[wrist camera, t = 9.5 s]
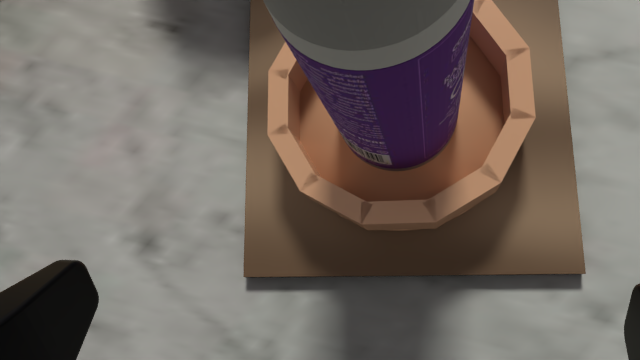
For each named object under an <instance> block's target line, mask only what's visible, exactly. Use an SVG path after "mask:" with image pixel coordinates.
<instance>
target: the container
mask: <svg viewBox="0 0 640 360" xmlns="http://www.w3.org/2000/svg"><path fill="white" fill-rule="evenodd" d="M263 1H264V3H265V5H266V7H267V9H268V11H269V13H270V14H271V16H272V19H273V21H274V23H275V25H276V27H277V28H278V30H279V32H280V33H281V35H282V37H283V38H284V40H285V42H286V43H287V45H288V47H289V48H290V50H291V52H292V53H293V55H294V57H295V58H296V60H297V62H298V63H299V65H300V67H301V68H302V70H303V72H304V73H305V75H306V77H307V78H308V80H309V82H310V83H311V85H312V87H313V88H314V90H315V92H316V93H317V95H318V97H319V98H320V100H321V102H322V104H323V105H324V107H325V109H326V110H327V112H328V114H329V115H330V117H331V119H332V120H333V122H334V124H335V125H336V127H337V129H338V130H339V132H340V134H341V135H342V137H343V139H344V140H345V142H346V143H347V145H348V146H349V148H350V149H351V150H352V151H353V153H354V154H355V155H356V156H357V157H359V158H360V159H361V160H362V161H364V162H365V163H367V164H369V165H371V166H373V167H376V168H379V169H382V170H388V171H406V170H411V169H415V168H418V167H420V166H423V165H425V164H427V163H428V162H430V161H431V160H433V159H434V158H435V157H437V156H438V155H439V154H440V153H441V152H442V151H443V150H444V149H445V147H446V146H447V145H448V143H449V142H450V140H451V138H452V136H453V133H454V131H455V127H456V123H457V119H458V112H459V105H460V98H461V91H462V84H463V77H464V70H465V63H466V56H467V48H468V41H469V34H470V27H471V20H472V13H473V6H474V0H263Z"/></svg>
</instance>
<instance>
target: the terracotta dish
mask: <svg viewBox="0 0 640 360" xmlns="http://www.w3.org/2000/svg"><path fill="white" fill-rule="evenodd" d="M535 118H536V115H535V104H534V92H533V81H532V70H531V58H530V47H529V46H528V45H527V44H526V43H525V41H524V40H523V39H522V38H521V36H520V35H519V34H518V33H517V31H516V30H515V29H514V27H513V26H512V25H511V24H510V22H509V21H508V20H507V19H506V17H505V16H504V15H503V14H502V12H501V11H500V10H499V9H498V7H497V6H496V5H495V3H494V2H493V1H492V0H474V6H473V13H472V20H471V27H470V34H469V41H468V48H467V56H466V63H465V70H464V77H463V84H462V91H461V98H460V105H459V112H458V119H457V123H456V127H455V131H454V133H453V136H452V138H451V140H450V142H449V143H448V145H447V146H446V147H445V149H444V150H443V151H442V152H441V153H440V154H439V155H438V156H437V157H435V158H434V159H433V160H431V161H430V162H428V163H427V164H425V165H423V166H420V167H418V168H415V169H411V170H406V171H388V170H382V169H379V168H376V167H373V166H371V165H369V164H367V163H365V162H364V161H362V160H361V159H360V158H359V157H357V156H356V155H355V154H354V153H353V151H352V150H351V149H350V148H349V146H348V145H347V143H346V142H345V140H344V139H343V137H342V135H341V134H340V132H339V130H338V129H337V127H336V125H335V124H334V122H333V120H332V119H331V117H330V115H329V114H328V112H327V110H326V109H325V107H324V105H323V104H322V102H321V100H320V98H319V97H318V95H317V93H316V92H315V90H314V88H313V87H312V85H311V83H310V82H309V80H308V78H307V77H306V75H305V73H304V72H303V70H302V68H301V67H300V65H299V63H298V62H297V60H296V58H295V57H294V55H293V53H292V52H291V50H290V48H289V47H288V45H287V43H286V42H285V43H284V45H283V47H282V48H281V50H280V52H279V54H278V55H277V57H276V59H275V61H274V62H273V64H272V66H271V67H270V69H269V71H268V128H267V135H268V137H269V138H270V140H271V142H272V144H273V145H274V147H275V149H276V150H277V152H278V154H279V156H280V157H281V159H282V161H283V162H284V164H285V166H286V168H287V169H288V171H289V173H290V175H291V176H292V178H293V180H294V181H295V183H296V185H297V187H298V188H299V190H300V192H302V193H303V194H304V195H306V196H307V197H308V198H310V199H311V200H313V201H315V202H317V203H318V204H320V205H322V206H324V207H326V208H328V209H329V210H331V211H333V212H335V213H336V214H338V215H340V216H341V217H343V218H345V219H347V220H350V221H351V222H353V223H355V224H357V225H359V226H361V227H362V228H364V229H366V230H386V231H411V230H420V229H436V228H438V227H440V226H441V225H443V224H444V223H446V222H448V221H450V220H452V219H454V218H456V217H458V216H460V215H462V214H464V213H465V212H467V211H468V210H470V209H471V208H473V207H474V206H475V205H477V204H478V203H479V202H481V201H482V200H484V199H486V198H487V197H489V196H491V195H492V194H494V193H496V191H497V189H498V188H499V186H500V184H501V183H502V180H503V178H504V176H505V175H506V173H507V171H508V169H509V167H510V165H511V163H512V161H513V159H514V158H515V156H516V154H517V152H518V150H519V148H520V146H521V144H522V142H523V141H524V139H525V137H526V135H527V133H528V131H529V129H530V127H531V125H532V124H533V122H534V120H535Z"/></svg>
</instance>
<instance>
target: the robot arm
mask: <svg viewBox="0 0 640 360" xmlns="http://www.w3.org/2000/svg"><path fill="white" fill-rule="evenodd" d="M98 302H99V296H98V292H97V290H96V288H95V285H94V283H93V281H92V279H91V277H90V275H89V272H88V270H87V268H86V266H85V265H84V264H83V263H82V262H81V261H78V260H59V261H56V262H54V263H52V264H50V265H49V266H47V267H45V268H43V269H41V270H40V271H38V272H36V273H34V274H32V275H31V276H29V277H27V278H25V279H24V280H22V281H20V282H18V283H16V284H15V285H13V286H11V287H9V288H7V289H6V290H4V291H2V292H0V360H76V359H77V356H78V354H79V351H80V349H81V346H82V344H83V341H84V339H85V336H86V334H87V332H88V329H89V327H90V324H91V322H92V319H93V317H94V314H95V312H96V309H97V307H98ZM624 337H625V343H626V348H627V353H628V358H629V360H640V284H637V285H636V286H635V287H634V289H633V291H632V295H631V299H630V303H629V307H628V311H627V315H626V319H625V324H624Z"/></svg>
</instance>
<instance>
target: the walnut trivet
mask: <svg viewBox="0 0 640 360" xmlns="http://www.w3.org/2000/svg"><path fill="white" fill-rule="evenodd" d="M492 1H493V2H494V3H495V5H496V6H497V7H498V9H499V10H500V11H501V12H502V14H503V15H504V16H505V17H506V19H507V20H508V21H509V22H510V24H511V25H512V26H513V27H514V29H515V30H516V31H517V33H518V34H519V35H520V36H521V38H522V39H523V40H524V41H525V43H526V44H527V45H528V46H529V47H530V58H531V70H532V81H533V92H534V104H535V115H536V118H535V120H534V122H533V124H532V125H531V127H530V129H529V131H528V133H527V135H526V137H525V139H524V141H523V142H522V144H521V146H520V148H519V150H518V152H517V154H516V156H515V158H514V159H513V161H512V163H511V165H510V167H509V169H508V171H507V173H506V175H505V176H504V178H503V180H502V183H501V184H500V186H499V188H498V189H497V191H496V193H494V194H492V195H491V196H489V197H487V198H486V199H484V200H482V201H481V202H479V203H478V204H477V205H475V206H474V207H473V208H471V209H470V210H468V211H467V212H465V213H464V214H462V215H460V216H458V217H456V218H454V219H452V220H450V221H448V222H446V223H444V224H443V225H441V226H440V227H438V228H436V229H420V230H411V231H386V230H366V229H364V228H362V227H361V226H359V225H357V224H355V223H353V222H351V221H350V220H347V219H345V218H343V217H341V216H340V215H338V214H336V213H335V212H333V211H331V210H329V209H328V208H326V207H324V206H322V205H320V204H318V203H317V202H315V201H313V200H311V199H310V198H308V197H307V196H306V195H304V194H303V193H302V192H300V190H299V188H298V187H297V185H296V183H295V181H294V180H293V178H292V176H291V175H290V173H289V171H288V169H287V168H286V166H285V164H284V162H283V161H282V159H281V157H280V156H279V154H278V152H277V150H276V149H275V147H274V145H273V144H272V142H271V140H270V138H269V137H268V135H267V128H268V71H269V69H270V67H271V66H272V64H273V62H274V61H275V59H276V57H277V55H278V54H279V52H280V50H281V48H282V47H283V45H284V43H285V40H284V38H283V37H282V35H281V33H280V32H279V30H278V28H277V27H276V25H275V23H274V21H273V19H272V16H271V14H270V13H269V11H268V9H267V7H266V5H265V3H264V1H263V0H251V3H250V43H249V82H248V122H247V162H246V201H245V241H244V277H325V276H427V275H529V274H586V273H585V263H584V253H583V243H582V233H581V224H580V214H579V204H578V194H577V184H576V174H575V165H574V155H573V145H572V135H571V125H570V116H569V106H568V96H567V86H566V76H565V67H564V57H563V47H562V37H561V27H560V18H559V8H558V0H492Z"/></svg>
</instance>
